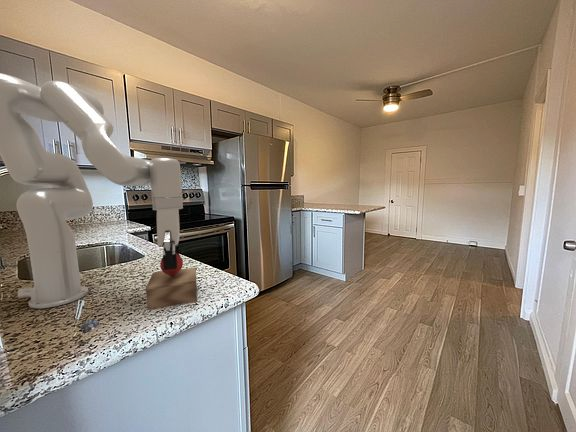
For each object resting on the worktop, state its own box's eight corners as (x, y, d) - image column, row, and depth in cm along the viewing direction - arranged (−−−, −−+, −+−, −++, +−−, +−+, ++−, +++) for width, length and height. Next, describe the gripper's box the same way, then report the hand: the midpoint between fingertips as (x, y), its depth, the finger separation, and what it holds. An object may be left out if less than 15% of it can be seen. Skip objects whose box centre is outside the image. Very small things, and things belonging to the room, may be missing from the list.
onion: (175, 280, 67) (172, 251, 66) (156, 279, 68) (154, 251, 67) (187, 273, 73) (185, 246, 72) (170, 272, 74) (168, 246, 73)
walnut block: (147, 309, 64) (145, 287, 63) (154, 291, 75) (153, 272, 74) (196, 301, 68) (195, 280, 67) (196, 285, 79) (195, 267, 78)
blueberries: (67, 344, 51) (66, 336, 51) (68, 325, 57) (67, 318, 57) (106, 331, 56) (106, 324, 55) (104, 315, 62) (103, 308, 61)
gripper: (157, 202, 75) (161, 257, 77) (146, 206, 59) (152, 275, 61) (184, 201, 77) (187, 254, 79) (180, 205, 61) (185, 271, 63)
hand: (172, 263), depth 70 cm, fingers open, 9 cm apart
